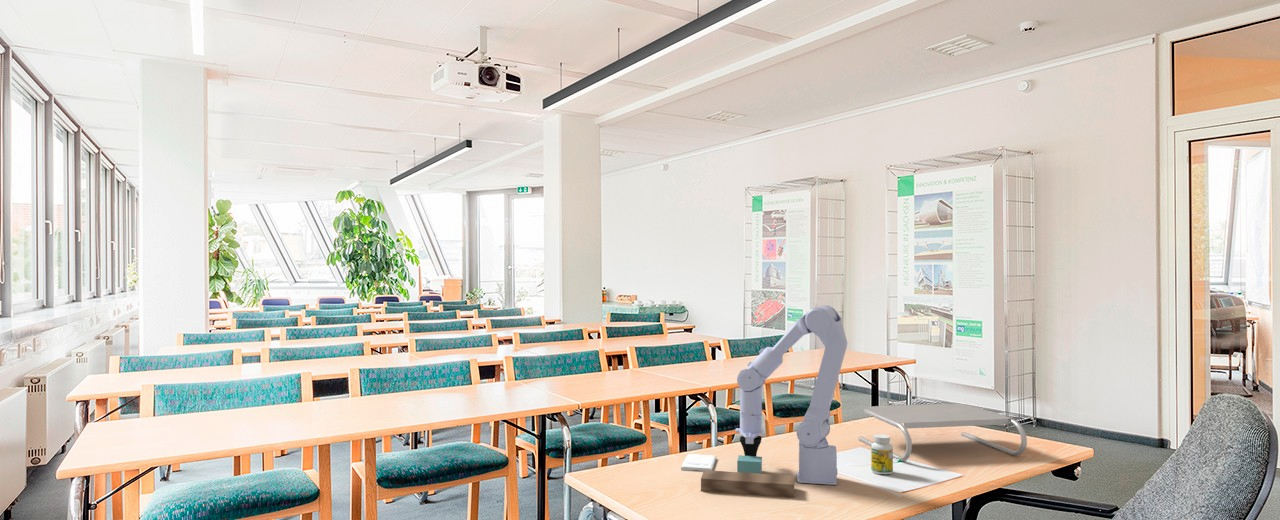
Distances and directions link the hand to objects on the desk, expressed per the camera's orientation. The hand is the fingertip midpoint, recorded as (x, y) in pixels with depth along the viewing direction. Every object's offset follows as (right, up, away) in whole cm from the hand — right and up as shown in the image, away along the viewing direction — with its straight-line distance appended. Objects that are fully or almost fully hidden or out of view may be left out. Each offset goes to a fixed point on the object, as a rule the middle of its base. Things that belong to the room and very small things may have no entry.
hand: (750, 464), depth 188 cm
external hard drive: (-13, -2, +5) cm, 14 cm away
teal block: (-1, -2, -5) cm, 5 cm away
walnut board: (-3, -1, -16) cm, 17 cm away
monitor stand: (+59, -2, +21) cm, 63 cm away
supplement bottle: (+34, -2, -2) cm, 34 cm away
